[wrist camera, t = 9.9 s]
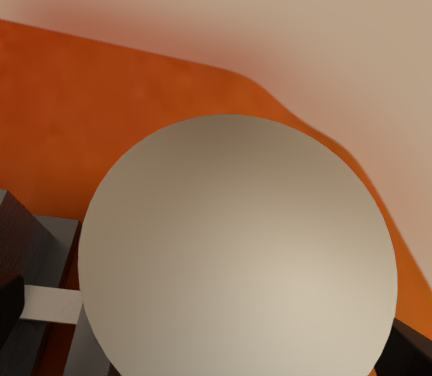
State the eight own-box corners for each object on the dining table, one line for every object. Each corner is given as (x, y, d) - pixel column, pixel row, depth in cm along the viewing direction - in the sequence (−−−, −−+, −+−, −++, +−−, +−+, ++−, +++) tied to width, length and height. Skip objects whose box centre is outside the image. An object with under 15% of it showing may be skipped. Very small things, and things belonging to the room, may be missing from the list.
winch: (272, 447, 14) (332, 503, 9) (-262, 400, 13) (-566, 433, 8) (274, 249, 18) (315, 207, 13) (-129, 198, 17) (-265, 128, 12)
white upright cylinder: (198, 385, 15) (320, 539, 3) (137, 338, 16) (-3, 278, 3) (238, 316, 17) (432, 207, 4) (181, 276, 17) (203, 74, 5)
